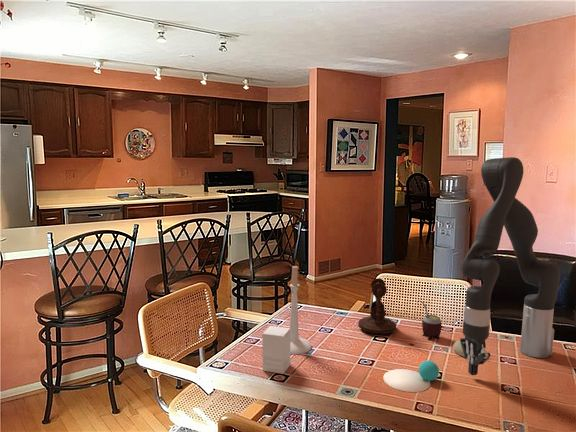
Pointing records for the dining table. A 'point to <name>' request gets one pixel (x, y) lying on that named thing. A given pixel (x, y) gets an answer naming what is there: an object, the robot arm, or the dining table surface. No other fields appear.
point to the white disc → (406, 380)
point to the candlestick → (296, 320)
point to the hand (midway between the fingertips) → (472, 373)
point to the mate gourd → (431, 325)
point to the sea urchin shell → (458, 348)
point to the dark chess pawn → (377, 312)
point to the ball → (428, 370)
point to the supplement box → (276, 349)
